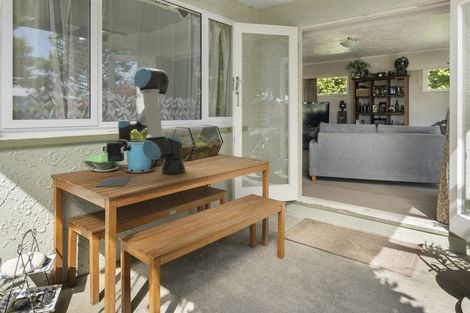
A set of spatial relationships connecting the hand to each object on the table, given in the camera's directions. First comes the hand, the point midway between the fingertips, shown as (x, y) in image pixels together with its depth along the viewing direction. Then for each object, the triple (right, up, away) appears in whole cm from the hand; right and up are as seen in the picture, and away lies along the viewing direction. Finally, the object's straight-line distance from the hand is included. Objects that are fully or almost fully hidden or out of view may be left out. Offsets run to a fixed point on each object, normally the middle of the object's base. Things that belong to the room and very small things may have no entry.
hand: (113, 150), depth 174 cm
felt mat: (0, -18, +1) cm, 18 cm away
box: (-1, -6, +6) cm, 8 cm away
